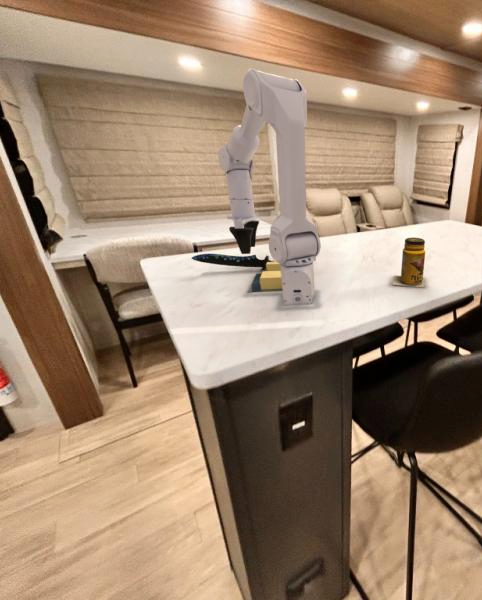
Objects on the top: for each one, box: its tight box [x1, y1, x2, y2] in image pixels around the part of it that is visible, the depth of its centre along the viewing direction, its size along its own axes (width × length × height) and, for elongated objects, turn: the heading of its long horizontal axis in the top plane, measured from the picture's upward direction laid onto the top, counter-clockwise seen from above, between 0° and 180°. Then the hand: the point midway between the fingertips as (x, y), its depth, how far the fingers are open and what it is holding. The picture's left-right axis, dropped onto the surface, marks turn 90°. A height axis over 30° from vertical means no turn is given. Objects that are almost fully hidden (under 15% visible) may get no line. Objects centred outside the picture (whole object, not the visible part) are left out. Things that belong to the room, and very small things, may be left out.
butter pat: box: [265, 262, 281, 271], centre depth 85 cm, size 2×6×3 cm, turn 102°
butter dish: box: [246, 272, 283, 294], centre depth 80 cm, size 14×12×1 cm
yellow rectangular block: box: [260, 270, 282, 290], centre depth 76 cm, size 5×6×3 cm
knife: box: [191, 253, 276, 272], centre depth 88 cm, size 31×3×4 cm, turn 97°
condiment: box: [392, 237, 426, 288], centre depth 83 cm, size 7×8×12 cm
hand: (248, 250), depth 86 cm, fingers open, 7 cm apart
